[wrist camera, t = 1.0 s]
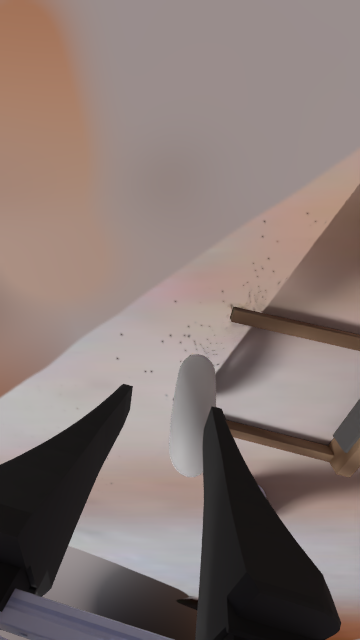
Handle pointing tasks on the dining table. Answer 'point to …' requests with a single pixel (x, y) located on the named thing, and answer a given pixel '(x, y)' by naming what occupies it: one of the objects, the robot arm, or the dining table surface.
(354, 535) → the dining table surface
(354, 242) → the dining table surface
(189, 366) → the donut
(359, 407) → the guide track
